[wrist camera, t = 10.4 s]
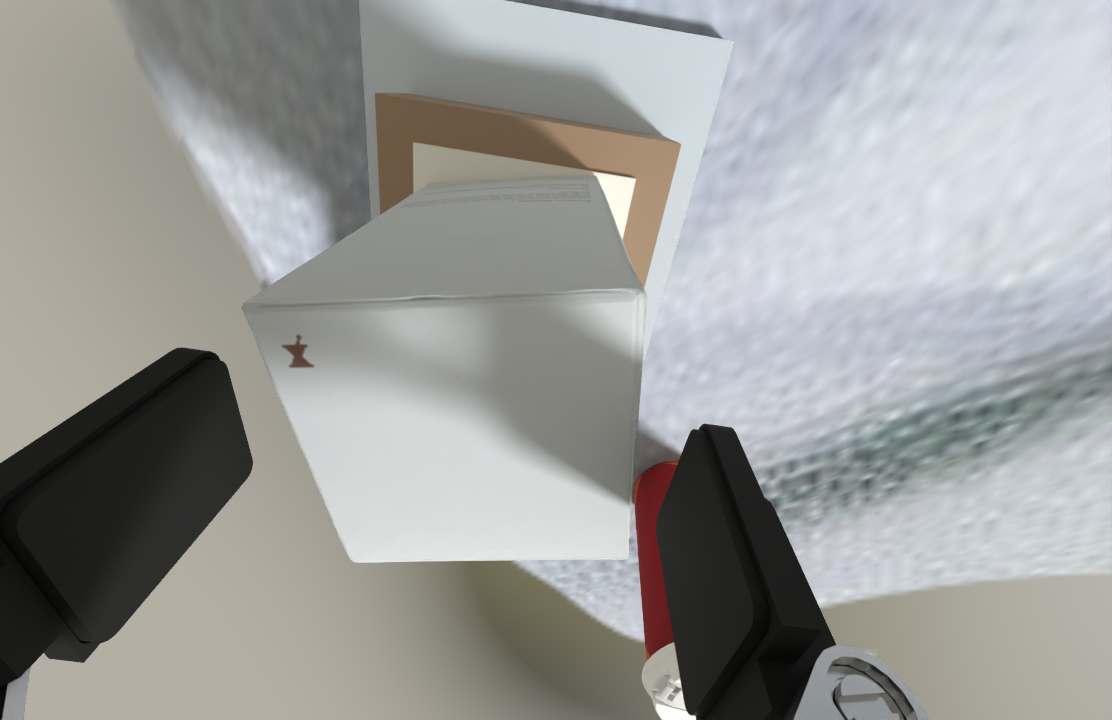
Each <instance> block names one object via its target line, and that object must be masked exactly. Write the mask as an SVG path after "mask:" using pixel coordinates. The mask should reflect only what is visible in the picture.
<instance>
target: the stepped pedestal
mask: <svg viewBox="0 0 1112 720" xmlns="http://www.w3.org/2000/svg"><path fill="white" fill-rule="evenodd" d="M359 16H360V34H361V52H362V70H363V88H364V105H365V123H366V141H367V159H368V177H369V195H370V213H371V220H373V219H375V218H376V217H378V216H379V215H381V214H383V213H384V212H386V211H387V210H389V209H390V208H392V207H393V206H395V205H396V204H398V203H399V202H401V201H402V200H404V199H406V198H407V197H408V196H410V195H412V194H413V193H415V192H417V191H418V190H420V189H421V188H423V187H424V186H426V184H433V183H450V182H467V181H484V180H502V179H519V178H538V177H560V176H596V177H597V178H598V180H599V182H600V184H601V187H602V189H603V191H604V193H605V196H606V198H607V201H608V203H609V206H610V209H611V211H612V214H613V216H614V219H615V222H616V225H617V227H618V230H619V233H620V235H621V238H622V240H623V243H624V246H625V249H626V251H627V254H628V256H629V259H630V261H631V263H632V266H633V268H634V270H635V272H636V274H637V276H638V278H639V280H640V282H641V284H642V286H643V287H644V289H645V291H646V293H647V299H648V300H647V312H646V324H645V337H644V350H643V363H644V359H645V356H646V352H647V349H648V345H649V342H650V338H651V335H652V331H653V328H654V324H655V321H656V317H657V313H658V310H659V306H660V303H661V299H662V296H663V292H664V289H665V285H666V282H667V278H668V275H669V271H670V267H671V264H672V260H673V257H674V253H675V250H676V246H677V243H678V239H679V236H680V232H681V229H682V225H683V221H684V218H685V214H686V211H687V207H688V204H689V200H690V197H691V193H692V190H693V186H694V183H695V179H696V175H697V172H698V168H699V165H700V161H701V158H702V154H703V151H704V147H705V144H706V140H707V137H708V133H709V129H710V126H711V122H712V119H713V115H714V112H715V108H716V105H717V101H718V98H719V94H720V91H721V87H722V83H723V80H724V76H725V73H726V69H727V66H728V62H729V59H730V55H731V52H732V48H733V45H734V41H730V40H724V39H719V38H713V37H708V36H702V35H696V34H691V33H685V32H680V31H674V30H668V29H663V28H657V27H652V26H646V25H640V24H635V23H629V22H624V21H618V20H612V19H607V18H601V17H596V16H590V15H584V14H579V13H573V12H567V11H562V10H556V9H551V8H545V7H539V6H534V5H528V4H523V3H517V2H511V1H506V0H359ZM642 367H643V364H642Z"/></svg>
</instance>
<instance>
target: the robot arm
mask: <svg viewBox="0 0 1112 720" xmlns="http://www.w3.org/2000/svg"><path fill="white" fill-rule="evenodd" d="M252 465H253V461H252V456H251V452H250V448H249V445H248V441H247V437H246V434H245V430H244V426H243V423H242V419H241V416H240V412H239V408H238V404H237V401H236V397H235V393H234V390H233V386H232V382H231V379H230V375H229V371H228V368H227V366H226V364H225V363H224V362H223V361H220V359H219V357H218V356H217V355H216V354H215V353H213V352H210V351H203V350H196V349H189V348H177V349H174V350H172V351H170V352H169V353H167V354H166V355H164V356H163V357H161V358H160V359H158V360H157V361H155V362H154V363H152V364H151V365H149V366H148V367H146V368H145V369H143V370H142V371H140V372H138V373H137V374H135V375H134V376H133V377H131V378H129V379H128V380H126V381H125V382H123V383H122V384H120V385H119V386H117V387H116V388H114V389H113V390H111V391H110V392H108V393H107V394H105V395H104V396H102V397H101V398H99V399H97V400H96V401H94V402H93V403H92V404H90V405H88V406H87V407H85V408H84V409H82V410H81V411H79V412H78V413H76V414H75V415H73V416H72V417H70V418H69V419H67V420H66V421H64V422H63V423H61V424H60V425H58V426H56V427H55V428H53V429H52V430H50V431H49V432H47V433H46V434H44V435H43V436H41V437H40V438H38V439H37V440H35V441H34V442H32V443H31V444H29V445H27V446H26V447H24V448H23V449H22V450H20V451H18V452H17V453H15V454H14V455H12V456H11V457H9V458H8V459H6V460H5V461H3V462H2V463H0V720H23V719H24V711H25V703H26V695H27V688H28V681H29V673H30V666H31V665H32V664H33V663H34V662H35V661H36V660H37V659H38V658H39V657H40V656H41V655H42V654H43V653H45V655H46V656H47V657H48V658H49V659H57V660H66V661H74V662H83V663H84V662H85V660H86V659H87V658H88V657H89V656H90V655H91V654H92V652H93V651H94V650H95V649H96V648H97V646H98V645H99V644H100V643H102V642H105V641H108V640H109V639H111V638H112V637H113V636H114V635H115V634H116V633H117V632H118V631H119V630H120V629H121V628H122V627H123V625H124V624H125V623H126V622H127V621H128V619H129V618H130V617H131V616H132V615H133V614H134V612H135V611H136V610H137V609H138V608H139V607H140V605H141V604H142V603H143V602H144V601H145V599H146V598H147V597H148V596H149V595H150V593H151V592H152V591H153V590H154V589H155V587H156V586H157V585H158V584H159V583H160V582H161V580H162V579H163V578H164V577H165V575H166V574H167V573H168V572H169V571H170V569H171V568H172V567H173V566H174V565H175V564H176V563H177V561H178V560H179V559H180V558H181V557H182V555H183V554H184V553H185V552H186V551H187V549H188V548H189V547H190V546H191V545H192V543H193V542H194V541H195V540H196V539H197V538H198V536H199V535H200V534H201V533H202V532H203V530H204V529H205V528H206V527H207V526H208V524H209V523H210V522H211V521H212V520H213V518H214V517H215V516H216V515H217V514H218V512H219V511H220V510H221V509H222V508H223V507H224V505H225V504H226V503H227V502H228V501H229V499H230V498H231V497H232V496H233V495H234V494H235V492H236V491H237V490H238V489H239V488H240V486H241V485H242V484H243V483H244V482H245V480H246V479H247V478H248V476H249V475H250V473H251V470H252ZM656 536H657V542H658V548H659V554H660V560H661V566H662V572H663V578H664V584H665V591H666V597H667V603H668V609H669V615H670V621H671V627H672V633H673V639H674V645H675V651H676V657H677V663H678V669H679V675H680V681H681V687H682V693H683V699H684V704H685V708H686V710H687V712H688V714H689V715H692V716H696V720H929V719H928V716H927V713H926V712H925V710H924V708H923V707H922V705H921V704H920V702H919V700H918V699H917V697H916V695H915V694H914V693H913V692H912V690H911V689H910V688H909V687H908V686H907V685H906V683H905V682H904V681H903V680H902V679H901V678H900V677H899V676H898V675H897V674H896V673H895V672H894V671H893V670H891V669H890V668H889V667H888V666H887V665H886V664H884V663H883V662H882V661H880V660H878V659H877V658H875V657H873V656H872V655H870V654H868V653H867V652H865V651H862V650H859V649H856V648H853V647H850V646H836V643H835V641H834V639H833V637H832V635H831V632H830V630H829V628H828V626H827V624H826V621H825V619H824V617H823V615H822V613H821V610H820V608H819V606H818V604H817V601H816V599H815V597H814V595H813V593H812V590H811V588H810V586H809V584H808V582H807V579H806V577H805V575H804V573H803V571H802V568H801V566H800V564H799V562H798V560H797V557H796V555H795V553H794V551H793V548H792V546H791V544H790V542H789V540H788V537H787V535H786V533H785V531H784V529H783V526H782V524H781V522H780V520H779V518H778V515H777V513H776V511H775V509H774V507H773V506H772V504H771V502H769V501H768V500H767V499H766V498H764V496H763V493H762V491H761V489H760V486H759V484H758V482H757V480H756V477H755V475H754V473H753V471H752V468H751V466H750V464H749V462H748V459H747V457H746V455H745V452H744V450H743V448H742V446H741V443H740V441H739V439H738V437H737V434H736V432H735V431H734V429H733V428H731V427H724V426H717V425H710V424H703V425H702V426H701V427H700V428H699V430H695V429H694V430H692V431H691V432H690V434H689V436H688V439H687V441H686V444H685V447H684V449H683V452H682V454H681V457H680V459H679V462H678V465H677V467H676V470H675V472H674V475H673V477H672V480H671V483H670V485H669V488H668V490H667V493H666V495H665V498H664V501H663V503H662V506H661V508H660V511H659V513H658V516H657V520H656Z"/></svg>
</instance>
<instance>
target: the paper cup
mask: <svg viewBox="0 0 1112 720" xmlns="http://www.w3.org/2000/svg"><path fill="white" fill-rule="evenodd" d="M677 465H678V461H672V462H665V463H661V464H658V465H655V466H653V467H651V468H649V469H648V470H646V471H645V472H644V473H643V474H642V475H641V476H640V477H639V479H638V480H637V482H636V485H635V491H634V498H635V517H636V531H637V545H638V558H639V571H640V584H641V597H642V610H643V622H644V635H645V648H646V660H647V662H646V664H645V666H644V667H643V671H642V682H643V685H644V687H645V689H646V691H647V692H648V694H649V695H650V696H651V697H652V700H653V704H654V707H655V710H656V712H657V713H658V715H659V716H660V718H661V719H662V720H696V716H692V715H689V714H688V712H687V710H686V708H685V704H684V699H683V693H682V687H681V681H680V675H679V669H678V663H677V657H676V651H675V645H674V639H673V633H672V627H671V621H670V615H669V609H668V603H667V597H666V591H665V584H664V578H663V572H662V566H661V560H660V554H659V548H658V542H657V536H656V520H657V516H658V513H659V511H660V508H661V506H662V503H663V501H664V498H665V495H666V493H667V490H668V488H669V485H670V483H671V480H672V477H673V475H674V472H675V470H676V467H677Z"/></svg>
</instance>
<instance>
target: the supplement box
mask: <svg viewBox="0 0 1112 720" xmlns="http://www.w3.org/2000/svg"><path fill="white" fill-rule="evenodd" d="M647 300H648V299H647V293H646V291H645V289H644V287H643V286H642V284H641V282H640V280H639V278H638V276H637V274H636V272H635V270H634V268H633V266H632V263H631V261H630V259H629V256H628V254H627V251H626V249H625V246H624V243H623V240H622V238H621V235H620V233H619V230H618V227H617V225H616V222H615V219H614V216H613V214H612V211H611V209H610V206H609V203H608V201H607V198H606V196H605V193H604V191H603V189H602V187H601V184H600V182H599V180H598V178H597V177H596V176H560V177H538V178H519V179H502V180H484V181H467V182H450V183H433V184H426V186H424V187H423V188H421V189H420V190H418V191H417V192H415V193H413V194H412V195H410V196H408V197H407V198H406V199H404V200H402V201H401V202H399V203H398V204H396V205H395V206H393V207H392V208H390V209H389V210H387V211H386V212H384V213H383V214H381V215H379V216H378V217H376V218H375V219H373V220H371V221H370V222H368V223H367V224H365V225H364V226H362V227H361V228H359V229H358V230H356V231H355V232H353V233H352V234H350V235H348V236H347V237H345V238H343V239H342V240H340V241H339V242H337V243H336V244H334V245H333V246H331V247H330V248H328V249H327V250H325V251H323V252H322V253H320V254H319V255H317V256H316V257H314V258H313V259H311V260H309V261H308V262H306V263H305V264H303V265H301V266H300V267H298V268H297V269H295V270H294V271H292V272H291V273H289V274H287V275H286V276H284V277H283V278H281V279H280V280H278V281H276V282H275V283H273V284H272V285H270V286H269V287H267V288H266V289H264V290H263V291H261V292H260V293H258V294H257V295H255V296H254V297H252V298H251V299H249V300H248V301H246V302H245V303H243V306H242V310H243V312H244V314H245V316H246V318H247V321H248V323H249V325H250V327H251V330H252V332H253V334H254V337H255V340H256V342H257V345H258V347H259V350H260V353H261V356H262V358H263V360H264V363H265V365H266V368H267V370H268V372H269V375H270V377H271V380H272V382H273V384H274V387H275V389H276V391H277V394H278V396H279V398H280V401H281V403H282V405H283V407H284V410H285V412H286V415H287V417H288V419H289V421H290V424H291V426H292V428H293V431H294V433H295V435H296V438H297V440H298V443H299V445H300V447H301V450H302V452H303V454H304V456H305V458H306V460H307V463H308V465H309V468H310V470H311V472H312V475H313V477H314V479H315V482H316V484H317V486H318V489H319V491H320V493H321V496H322V498H323V500H324V503H325V505H326V507H327V509H328V512H329V514H330V516H331V518H332V521H333V524H334V526H335V528H336V530H337V533H338V536H339V538H340V540H341V542H342V544H343V546H344V548H345V550H346V552H347V554H348V556H349V557H350V559H351V561H353V562H357V563H365V562H368V563H370V562H411V561H475V560H476V561H483V560H484V561H485V560H625V559H627V558H629V552H628V550H629V533H630V519H631V504H632V489H633V477H634V464H635V452H636V440H637V428H638V415H639V403H640V391H641V377H642V364H643V350H644V337H645V324H646V312H647Z"/></svg>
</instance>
